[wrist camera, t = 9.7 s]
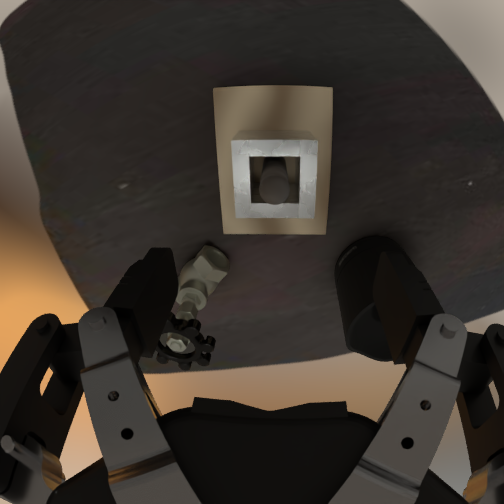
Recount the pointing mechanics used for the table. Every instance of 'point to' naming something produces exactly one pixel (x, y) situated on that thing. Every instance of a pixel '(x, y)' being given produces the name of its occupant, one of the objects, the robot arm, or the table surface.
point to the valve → (193, 309)
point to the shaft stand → (273, 167)
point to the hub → (274, 145)
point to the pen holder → (363, 296)
